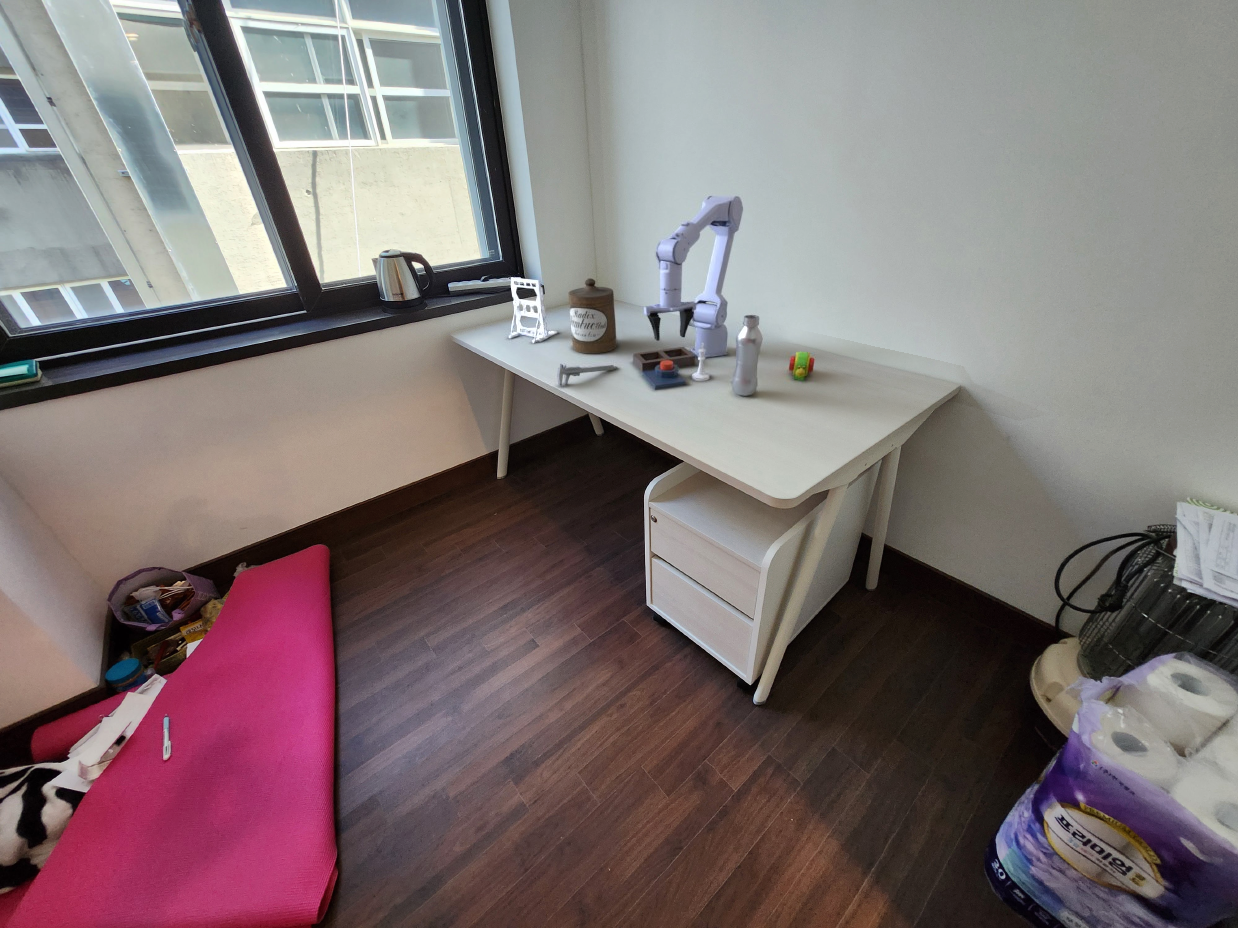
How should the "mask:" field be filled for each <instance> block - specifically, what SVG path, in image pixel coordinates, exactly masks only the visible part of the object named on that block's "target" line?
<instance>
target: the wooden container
mask: <svg viewBox="0 0 1238 928" xmlns="http://www.w3.org/2000/svg"><path fill="white" fill-rule="evenodd" d="M584 285H585V286H584V287H579V288H575V289H571V290H570V291H568V294H567V295H568V296H567V297H568V305H569V314H570V332H571V343H572V349H573V350H574V351H576V352H578V353H582V354H592V355H593V354H603V353H607V352H610V351H612V350H614V349H616V347H617V324H616V313H615V295H614V290H613V288H610V287H606V286H596V279H594V278H591V277H590V278H587V279H585V281H584Z"/></svg>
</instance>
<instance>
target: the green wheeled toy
mask: <svg viewBox="0 0 1238 928" xmlns="http://www.w3.org/2000/svg"><path fill="white" fill-rule="evenodd" d="M814 365H815V358H814V357H811V353H810V352H809V351H796V353H795V356H794V355H793V356H790V357H789V363H788V370H789V371H790V372H792V375H793V376H794V380H795V381H796V380H798V381H804V380H805V377H807V376H808V373H812V372H813V371H814Z"/></svg>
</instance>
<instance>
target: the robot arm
mask: <svg viewBox="0 0 1238 928" xmlns="http://www.w3.org/2000/svg"><path fill="white" fill-rule="evenodd" d="M743 212H744V206H743V202H742V199H741V197H740V196H739V195H738V196H737V195H735V196H713V195H708V196H706V198H705V199H703V201H702V204H701V209H700V210H699V211H698V212H697V214H696V215H695V216H694V217H693V219H692V220H691V221H689V220H687V221H683V222H682V223H681V224H680V226H679V227H678V228H677V229H676V230H675V231H673V233H672V234H671V235H670V236H669V237H667V238H663V239H661V240H660V241H659V242H658V243H657V246H656V250H655V252H654V253H655V259H656V260H657V268H658V270H659V303H656V304H653V305H648V306H644V307H643V314H644V315H645V316H646V317H647V318H648V321H649V324H650V325H651V329H652V332H653V338H654V340H655V341H657V342H659V341H660V327H661V321H662V318H661V317H660V315H659V314H666V313H675V312H679V336H680V337H681V338H686V334H687V330H688V327H689V325H690V324H691V321H692V322H693V325H694V326H695V344H694V348H691V349H690V350H689V351H690V352H691V353H692V354H694V355H695V357H697V358H699V357H700V355H699V349H701V346H702V343H704V344H703V345H704V347H703V349H705V350H706V352H705V355H704V357H705V359H707V358H713V357H720V356H727V355H728V352H727V348H728V347H727V346H728V336H729V335H728V328H727V326H726V325H725V322H726V320H727V317H728V301H727V299H726V298H725V297H724V296H723V294H722V292H723V287H724V283H725V279H726V274H727V270H728V266H729V262H730V257H731V252H732V247H733V243H734V239H735V234H736V233H737V232H738V231H739V230H740V226H741V222H742V217H743ZM706 227H709V228H710V230H711V231H713V232H714V233H715V240H714V244H713V248H712V253H711V257H710V262H709V267H708V268H709V269H708V271H707V278H706V281H705V285H704V290H703V292H701V293H700V294H698V295H696V297H695V300H694V301H693V300H692V301H682V287H683V285H682V283H683V281H682V280H683V263H684V262H686V260H687V257H688V254H689V252H690V250H691V248H692V247H693V246H694V245H695V244H696V243H697V242H698V241H699V240H700V238H701V232H702V231H703V230H705V228H706Z"/></svg>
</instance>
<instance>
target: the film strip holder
mask: <svg viewBox="0 0 1238 928" xmlns="http://www.w3.org/2000/svg"><path fill="white" fill-rule="evenodd" d="M516 282H517V283H518V284H516ZM521 283H523V285H521ZM527 284H529V286H528V285H527ZM533 284H535V286H533ZM510 288H511V290H510V291H511V296H512V299H513V301H512V302H513V303H512V304H513V310H514V312H513V316H512V317H513V318H512V321H511V327H510V334H509V335H508V339H511V340H512V339H513V338H517V337H518V336H520V335H521V336H528V337H533V340H531V342H532V344H536V343H538V342H543V341H545V340H547V339H548V338H550V337H553V336H555V335H558V331H557V330H549V329H548V324H547V323H548V322H546V320H545V319H547V314H546V306H545V305H544V301H545V297H544V290H543V286H542V285H541V279H530V278H529V279H528V278H519V277H513V276H512V277H510ZM518 288H525V289H532V290H534V292H535V294H536V299H535V300H529V299H522V298H521V299H520V298H519V296H518V295H517V290H518ZM520 305H522V310H520V309H521V308H520ZM527 306H529V308H530V311H528V309H527ZM534 307H537V312H535V309H534ZM522 317H529V318H535V319H537V321H536V326H535V327H526V326H523V324H522V322H521V318H522ZM515 323H516V330H517V331H514V328H515V327H514V326H515ZM539 324H540V325H539Z"/></svg>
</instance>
